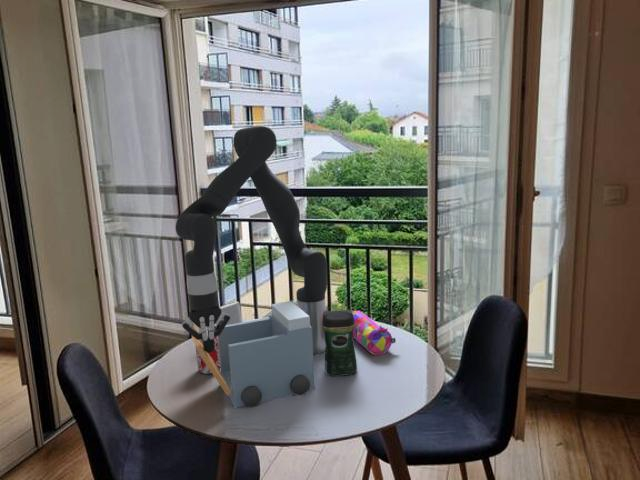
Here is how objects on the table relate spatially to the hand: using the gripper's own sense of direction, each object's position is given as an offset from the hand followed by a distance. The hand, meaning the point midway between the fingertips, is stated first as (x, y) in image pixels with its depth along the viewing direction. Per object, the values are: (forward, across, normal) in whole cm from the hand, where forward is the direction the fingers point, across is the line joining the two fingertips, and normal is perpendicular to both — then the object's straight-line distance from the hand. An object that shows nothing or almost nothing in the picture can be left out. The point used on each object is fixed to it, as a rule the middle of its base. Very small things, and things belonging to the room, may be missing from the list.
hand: (209, 351), depth 139 cm
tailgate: (+10, -3, 0) cm, 10 cm away
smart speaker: (+14, -13, -38) cm, 43 cm away
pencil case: (+15, -54, -13) cm, 58 cm away
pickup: (+14, -14, 0) cm, 20 cm away
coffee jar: (+14, -37, +1) cm, 40 cm away
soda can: (+14, -2, -18) cm, 23 cm away
